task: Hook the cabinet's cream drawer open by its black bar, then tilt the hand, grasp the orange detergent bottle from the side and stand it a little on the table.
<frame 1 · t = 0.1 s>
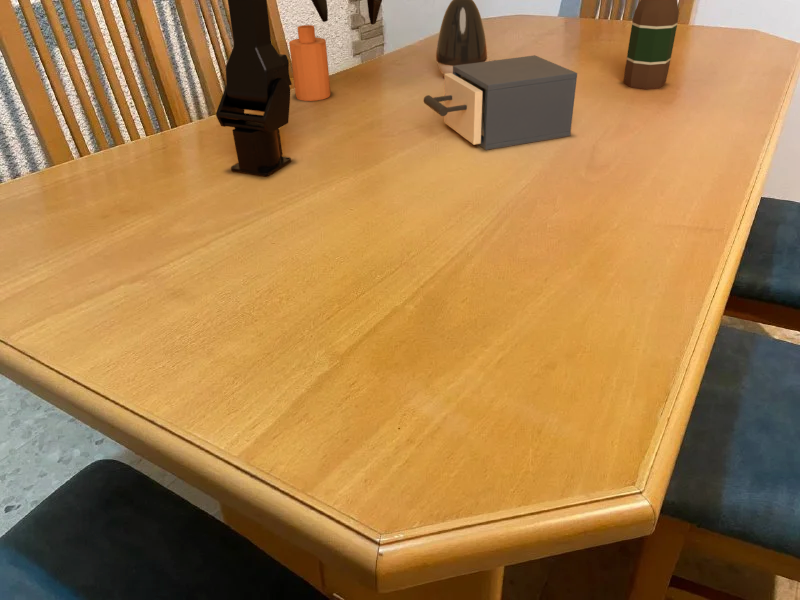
hand: (348, 22, 106), 15 cm above the table, tool pointing down, fingers open, 9 cm apart
cabinet: (509, 130, 103), on the table
detergent bottle: (313, 95, 123), on the table
dark brown rounded piece: (461, 78, 131), on the table
beer bottle: (643, 85, 122), on the table
drawer: (485, 104, 99), point 5 cm above the table, slide at 0.5 cm
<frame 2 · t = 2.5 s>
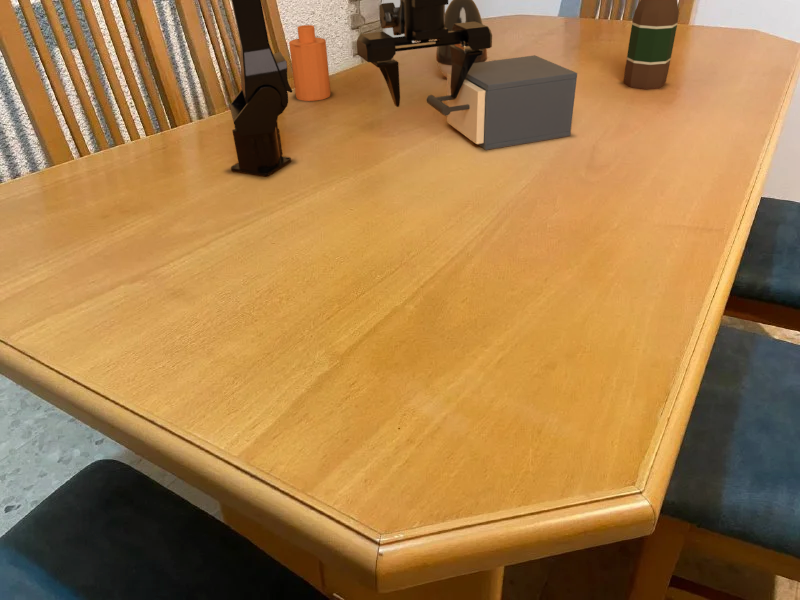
hand: (425, 102, 95), 6 cm above the table, tool pointing down, fingers open, 9 cm apart
drawer: (487, 104, 99), point 5 cm above the table, slide at 0.0 cm
everything else where it was.
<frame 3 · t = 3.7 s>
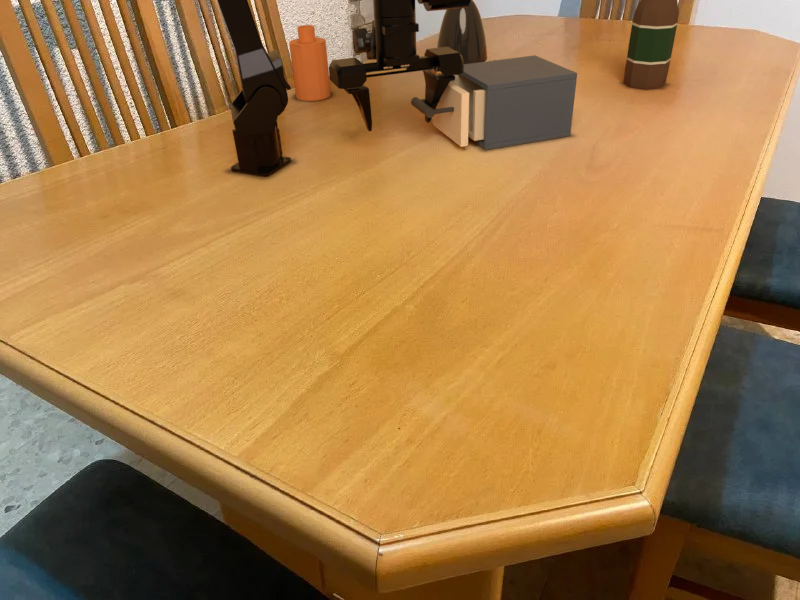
hand: (398, 126, 96), 3 cm above the table, tool pointing down, fingers open, 9 cm apart
drawer: (472, 106, 98), point 5 cm above the table, slide at 2.6 cm, touching gripper
everything else where it was.
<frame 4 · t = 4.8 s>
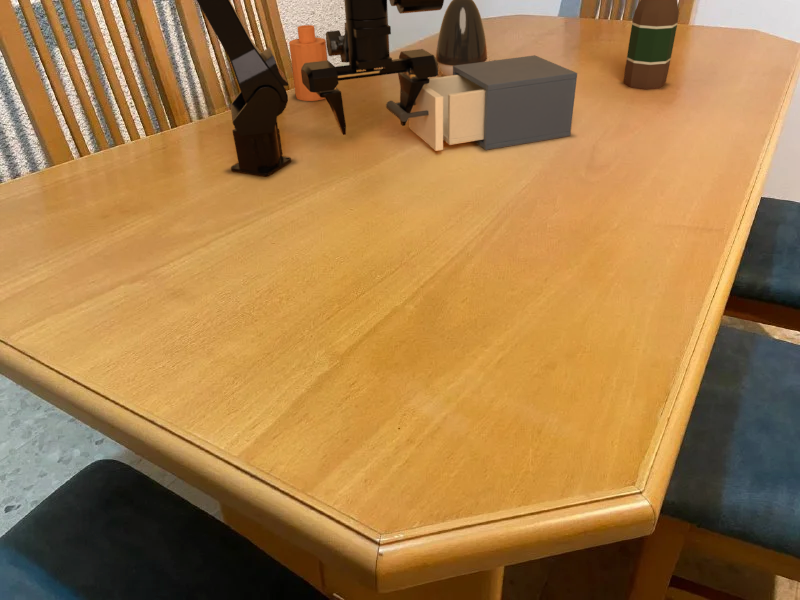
hand: (373, 129, 95), 3 cm above the table, tool pointing down, fingers open, 9 cm apart
drawer: (448, 109, 97), point 5 cm above the table, slide at 6.6 cm, touching gripper
everything else where it was.
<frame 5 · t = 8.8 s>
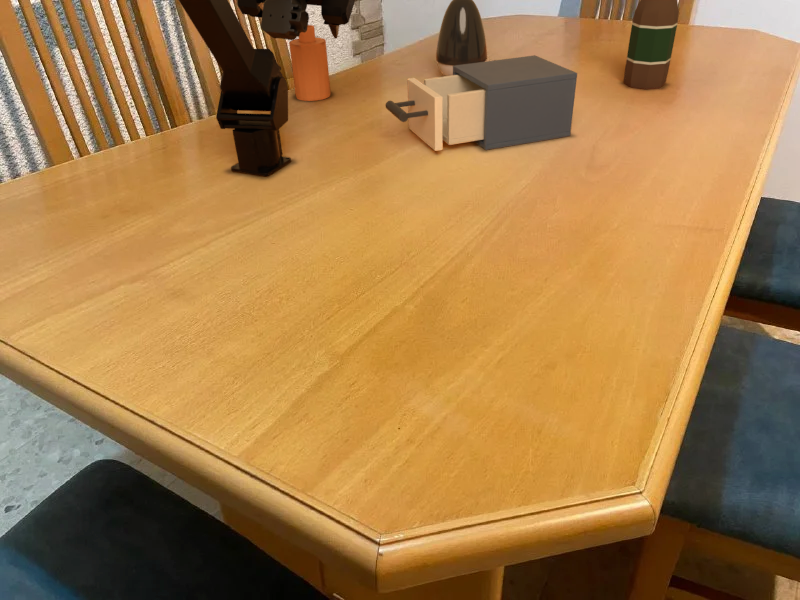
hand: (311, 33, 109), 13 cm above the table, tool tilted 40°, fingers open, 9 cm apart
drawer: (448, 109, 97), point 5 cm above the table, slide at 6.7 cm
everything else where it was.
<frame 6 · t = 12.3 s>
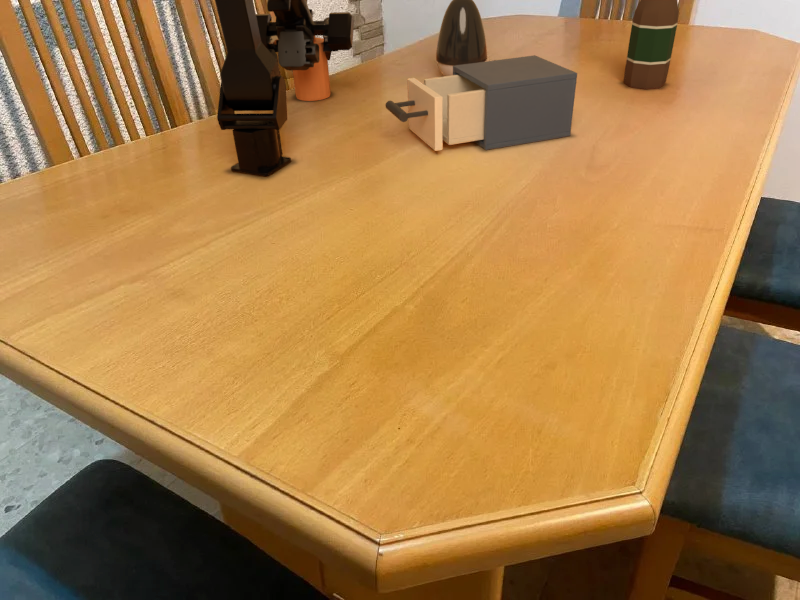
hand: (310, 58, 121), 7 cm above the table, tool tilted 45°, fingers closed on detergent bottle, 6 cm apart
detergent bottle: (313, 95, 123), on the table, touching gripper
everything else where it was.
when the fingers open (7 cm above the table, at t = 18.2 s): detergent bottle stays where it is, on the table.
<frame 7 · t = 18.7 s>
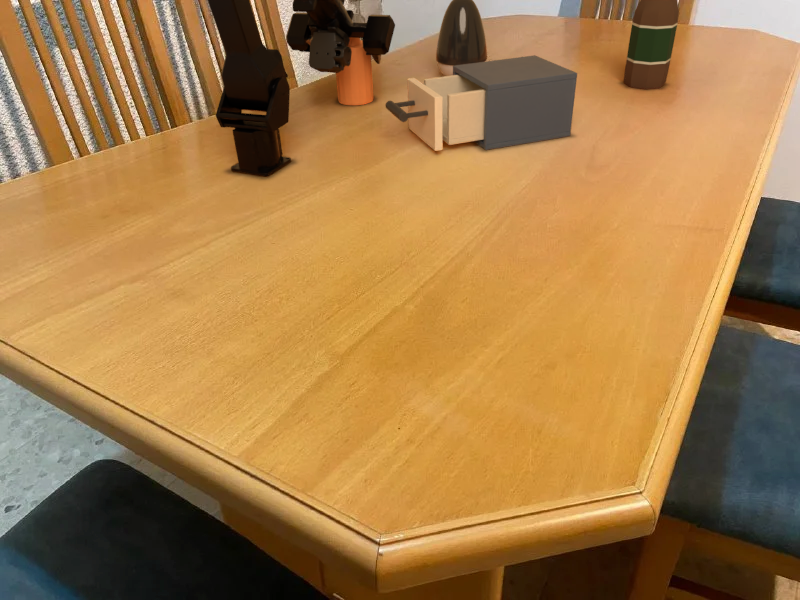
hand: (356, 60, 117), 7 cm above the table, tool tilted 45°, fingers open, 9 cm apart
detergent bottle: (355, 100, 120), on the table
everything else where it was.
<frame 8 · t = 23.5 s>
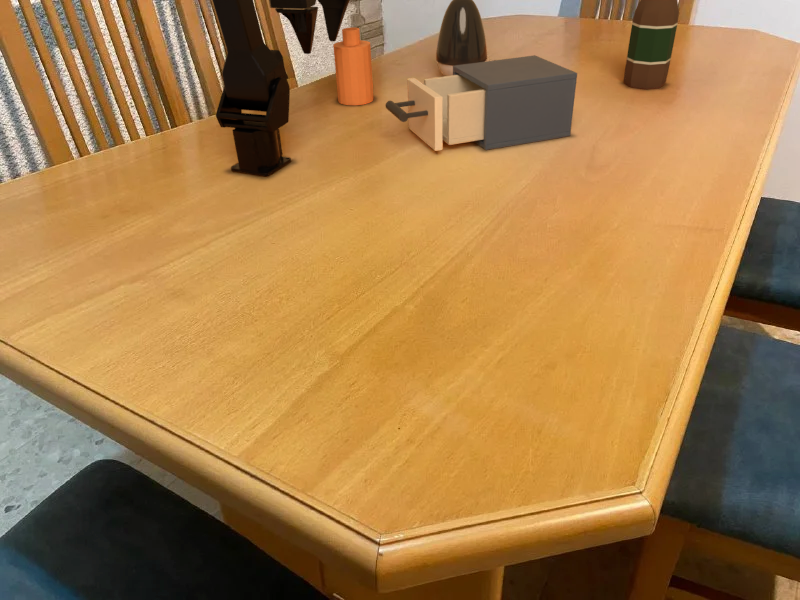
hand: (320, 47, 104), 12 cm above the table, tool pointing down, fingers open, 9 cm apart
nothing on the table moved.
at the end: drawer slide at 6.7 cm; detergent bottle 0.1 cm from the target spot, on the table; detergent bottle tilted 0° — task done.
